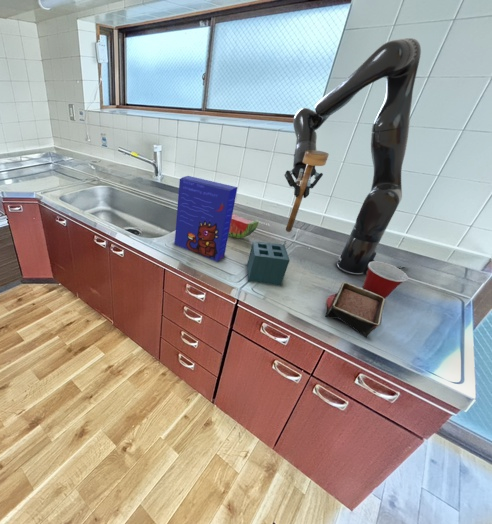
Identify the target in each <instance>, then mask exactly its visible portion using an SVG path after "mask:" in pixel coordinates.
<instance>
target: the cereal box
mask: <svg viewBox="0 0 492 524" xmlns="http://www.w3.org/2000/svg"><path fill="white" fill-rule="evenodd" d="M237 192H238V186H233V185H229V184H227V183H221V182H217V181H211V180H208V179H204V178H201V177H195V176H190V175H186V176H183V177H180V178H179V182H178V194H177V195H178V196H177V208H176V209H177V210H176V218H175V219H176V221H175V233H174V245H175V246H177V247H180V248H182V249H184V250H187V251H190V252H192V253H194V254H196V255H199V256H201V257H204V258H207V259H209V260H211V261H213V262H217V263H218V262H219V261H220V260H222V259H224V258H225V255H226V250H227V244H228V239H229V236H228V234H229V229H230V224H231V219H232V214H234V208H235V203H236V199H237V198H236V197H237Z"/></svg>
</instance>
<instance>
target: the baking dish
mask: <svg viewBox="0 0 492 524" xmlns="http://www.w3.org/2000/svg"><path fill="white" fill-rule="evenodd" d="M385 299H386V298H385ZM385 299H384V298H383V297H381V296H379V295H377V294H375V293H373V292H370V291H368V290H365V289H363V287H360V286H357V285H355V284H352V283H348V282H341V285H340V287H339V289H338V291H337V293H335V294H331V295H329V296H328V297H327V299H326V309H325V314H324V318H330V319H339V320H340V321H342V322H343V323H344V324H346V325H348V326H349V327H350V328H352V329H354V331H356V332H358V333H359V334H360V335H362V336H363V337H365V338H366V339H367V338H368V336H369V335H370V334H371V333H372V332H373V331H374V330H375V329H377V328H378V327H379V326H381V324H382V322H383V321H382V320H383V313H384V312H383V311H384V307H385V303H386V300H385Z"/></svg>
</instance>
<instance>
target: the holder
mask: <svg viewBox="0 0 492 524" xmlns="http://www.w3.org/2000/svg"><path fill="white" fill-rule="evenodd" d="M289 263H290V257H289V253H288V250H287V248H286V245H285V244H282V243H280V244H279V243H273V242H272V243H271V242H265V241H255V240H253V241H252V243H251V246H250V252H249V255H248V259H247V264H246V270H247V271H246V272H247V281H248V282H252V283H253V282H254V283H260V284H266V285H272V286H279V287H282V285H283V281H284V278H285V277H286V276H285V275H286V272H287V269H288V267H289Z"/></svg>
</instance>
